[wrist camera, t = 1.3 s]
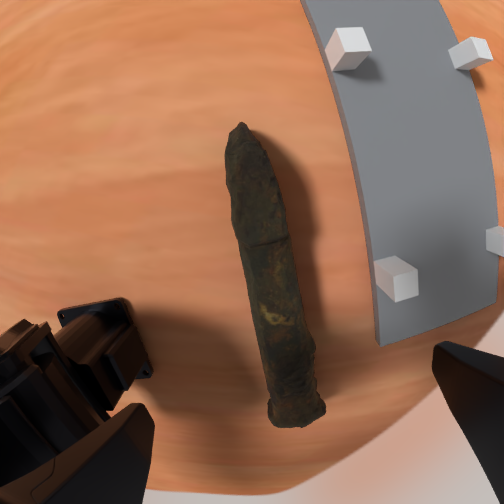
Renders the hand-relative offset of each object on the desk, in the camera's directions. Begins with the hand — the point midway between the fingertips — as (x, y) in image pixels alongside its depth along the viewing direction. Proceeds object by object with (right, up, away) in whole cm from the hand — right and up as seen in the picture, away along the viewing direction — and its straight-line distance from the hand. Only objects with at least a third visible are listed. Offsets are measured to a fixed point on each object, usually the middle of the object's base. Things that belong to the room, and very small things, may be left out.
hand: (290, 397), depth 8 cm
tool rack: (+10, +10, +9) cm, 17 cm away
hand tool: (0, +2, +11) cm, 12 cm away
